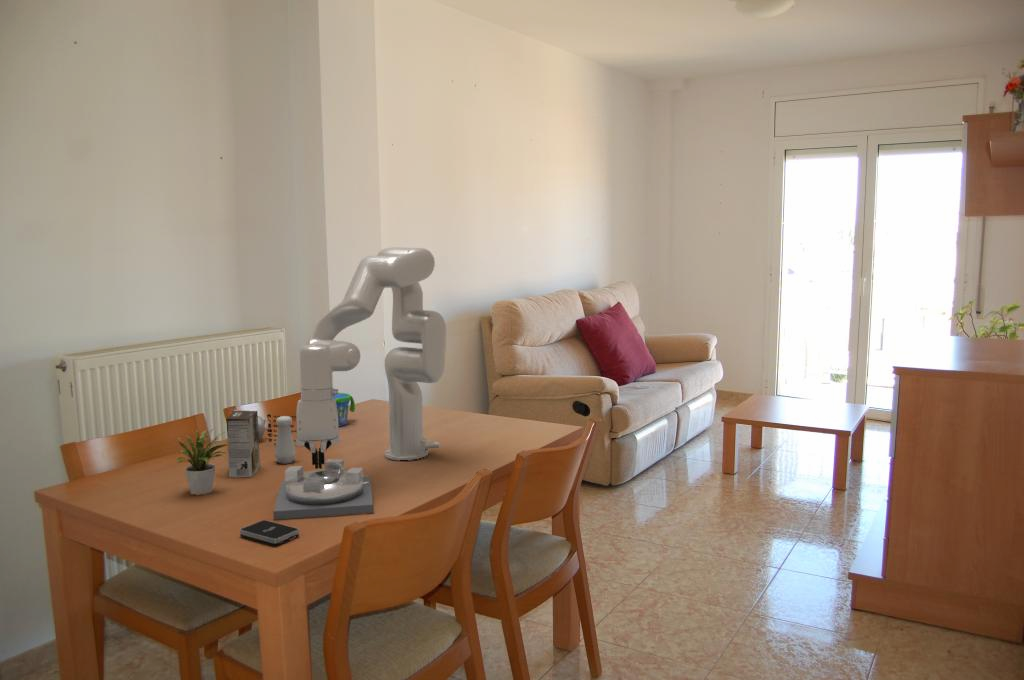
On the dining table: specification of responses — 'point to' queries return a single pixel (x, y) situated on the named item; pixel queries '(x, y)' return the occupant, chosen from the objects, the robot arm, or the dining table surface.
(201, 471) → the house plant
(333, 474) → the domed turntable base
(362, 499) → the housing plate
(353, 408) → the snack cup
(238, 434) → the coffee box
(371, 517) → the dining table surface
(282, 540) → the external hard drive
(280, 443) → the salt shaker
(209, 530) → the dining table surface
